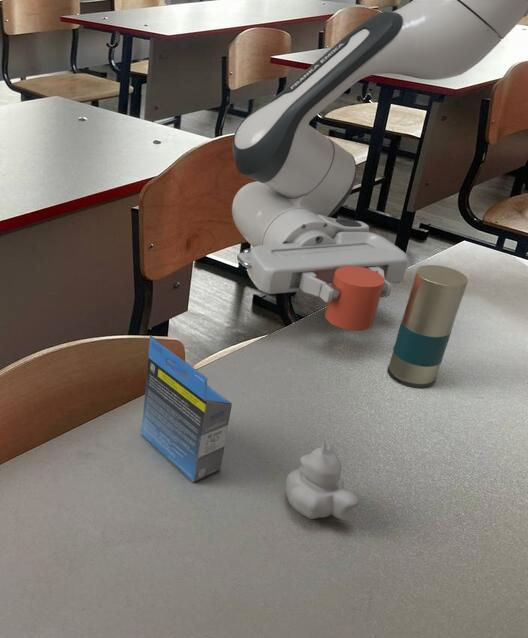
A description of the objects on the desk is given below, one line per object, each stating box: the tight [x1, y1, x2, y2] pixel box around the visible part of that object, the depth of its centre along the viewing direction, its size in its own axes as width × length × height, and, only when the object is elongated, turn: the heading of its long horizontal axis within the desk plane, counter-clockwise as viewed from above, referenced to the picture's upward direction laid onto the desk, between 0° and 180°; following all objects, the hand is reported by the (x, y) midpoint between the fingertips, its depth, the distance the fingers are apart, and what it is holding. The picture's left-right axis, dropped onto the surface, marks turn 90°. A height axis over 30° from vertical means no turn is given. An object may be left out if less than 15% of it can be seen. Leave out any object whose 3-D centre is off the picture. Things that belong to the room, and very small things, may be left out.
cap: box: [324, 266, 384, 332], centre depth 92 cm, size 6×6×6 cm
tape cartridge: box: [140, 335, 233, 483], centre depth 75 cm, size 9×4×12 cm, turn 31°
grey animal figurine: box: [285, 439, 359, 521], centre depth 69 cm, size 5×7×8 cm
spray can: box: [387, 264, 469, 389], centre depth 88 cm, size 5×5×14 cm
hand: (360, 294), depth 91 cm, fingers closed on cap, 5 cm apart
